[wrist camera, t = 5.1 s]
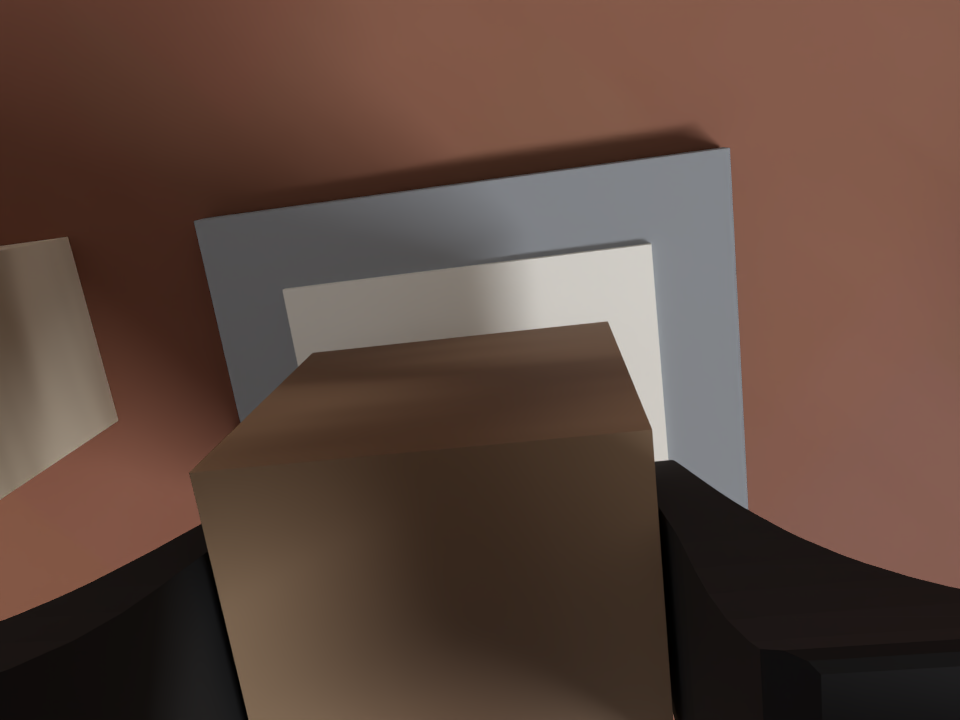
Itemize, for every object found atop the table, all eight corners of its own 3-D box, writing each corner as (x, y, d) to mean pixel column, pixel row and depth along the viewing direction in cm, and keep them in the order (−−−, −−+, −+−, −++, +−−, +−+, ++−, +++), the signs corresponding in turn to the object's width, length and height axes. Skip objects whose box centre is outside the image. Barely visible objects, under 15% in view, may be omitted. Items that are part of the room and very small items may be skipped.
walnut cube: (360, 609, 15) (276, 838, 10) (312, 352, 13) (189, 472, 9) (629, 589, 14) (680, 819, 9) (607, 321, 13) (651, 429, 8)
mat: (304, 650, 18) (294, 671, 17) (206, 217, 16) (190, 222, 15) (747, 619, 17) (756, 641, 16) (722, 147, 14) (731, 148, 14)
